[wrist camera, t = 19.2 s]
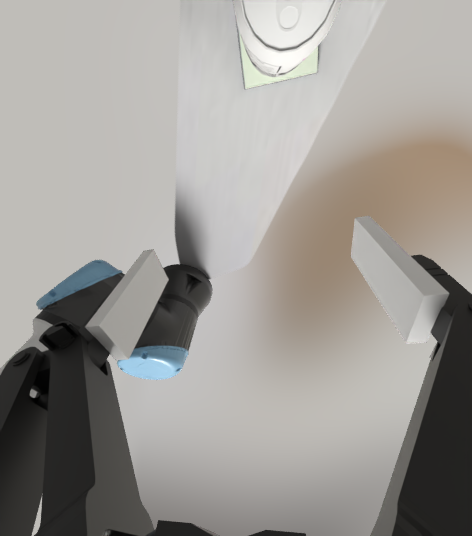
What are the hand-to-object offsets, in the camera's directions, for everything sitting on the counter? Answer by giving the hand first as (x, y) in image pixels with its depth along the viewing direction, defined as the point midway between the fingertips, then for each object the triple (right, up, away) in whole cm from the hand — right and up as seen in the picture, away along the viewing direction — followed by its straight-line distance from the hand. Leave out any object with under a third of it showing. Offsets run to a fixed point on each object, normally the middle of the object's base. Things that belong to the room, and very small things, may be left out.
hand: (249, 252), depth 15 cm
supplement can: (+4, +28, +12) cm, 31 cm away
